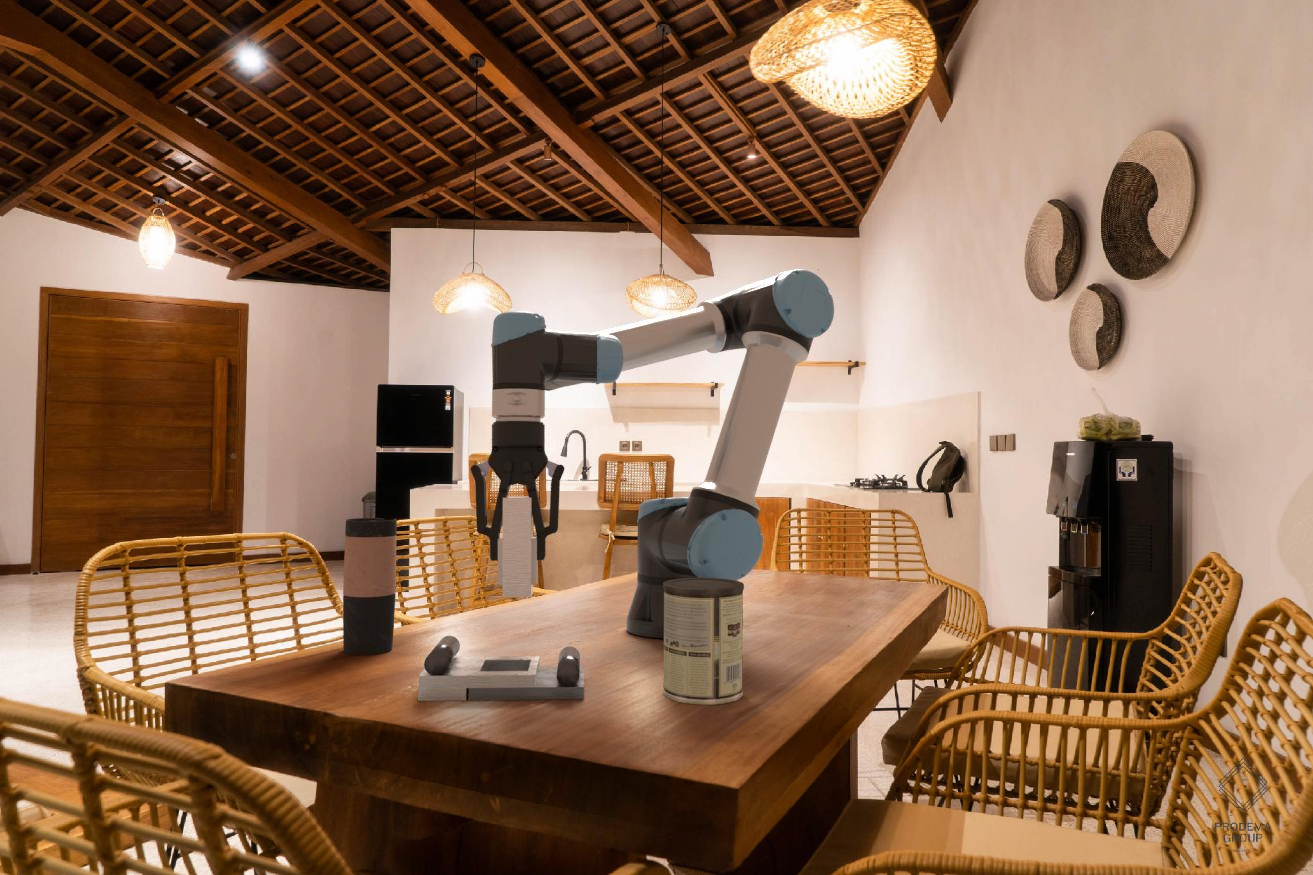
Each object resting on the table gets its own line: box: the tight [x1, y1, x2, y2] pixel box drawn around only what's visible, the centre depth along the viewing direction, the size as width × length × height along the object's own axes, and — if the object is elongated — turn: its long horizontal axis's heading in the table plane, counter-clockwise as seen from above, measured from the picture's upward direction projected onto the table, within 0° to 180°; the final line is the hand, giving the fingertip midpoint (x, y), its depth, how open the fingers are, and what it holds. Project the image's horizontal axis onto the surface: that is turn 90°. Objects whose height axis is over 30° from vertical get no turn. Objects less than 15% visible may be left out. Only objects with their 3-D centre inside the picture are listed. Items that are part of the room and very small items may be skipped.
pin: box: [501, 496, 534, 598], centre depth 118 cm, size 4×4×14 cm
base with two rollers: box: [417, 635, 585, 702], centre depth 106 cm, size 20×10×6 cm, turn 95°
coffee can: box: [662, 578, 745, 706], centre depth 105 cm, size 10×10×14 cm
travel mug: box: [342, 517, 398, 656], centre depth 127 cm, size 8×8×20 cm
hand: (517, 583), depth 118 cm, fingers closed on pin, 4 cm apart
